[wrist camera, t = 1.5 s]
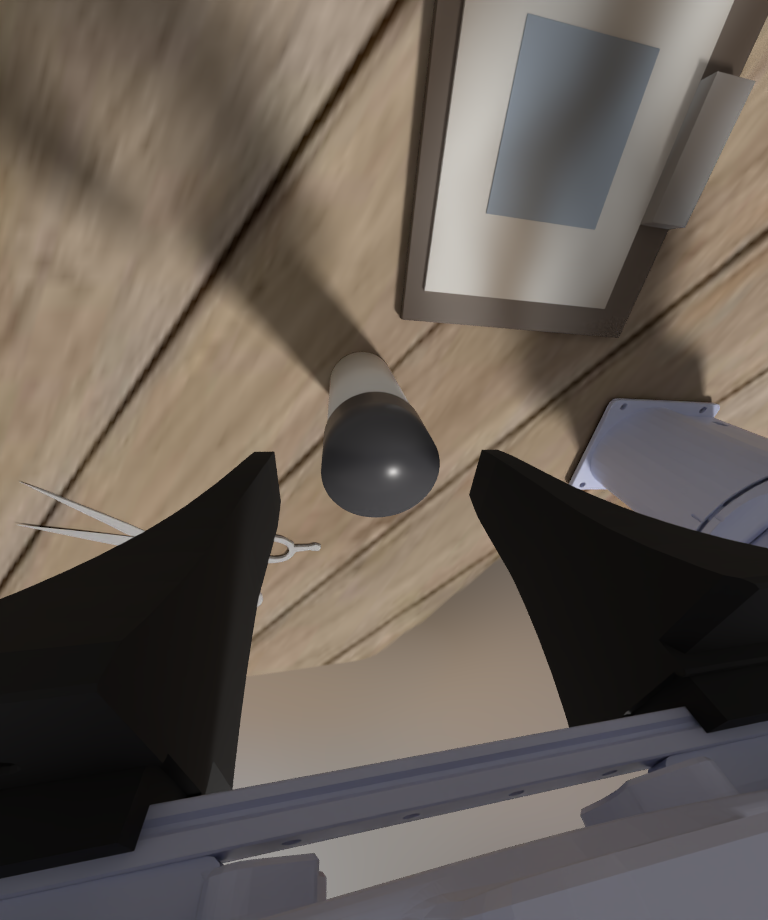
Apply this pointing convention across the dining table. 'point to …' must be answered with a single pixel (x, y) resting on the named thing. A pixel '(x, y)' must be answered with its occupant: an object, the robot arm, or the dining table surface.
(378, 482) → the marker
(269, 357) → the dining table surface
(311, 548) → the scissors
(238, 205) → the dining table surface
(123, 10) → the dining table surface
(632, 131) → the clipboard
